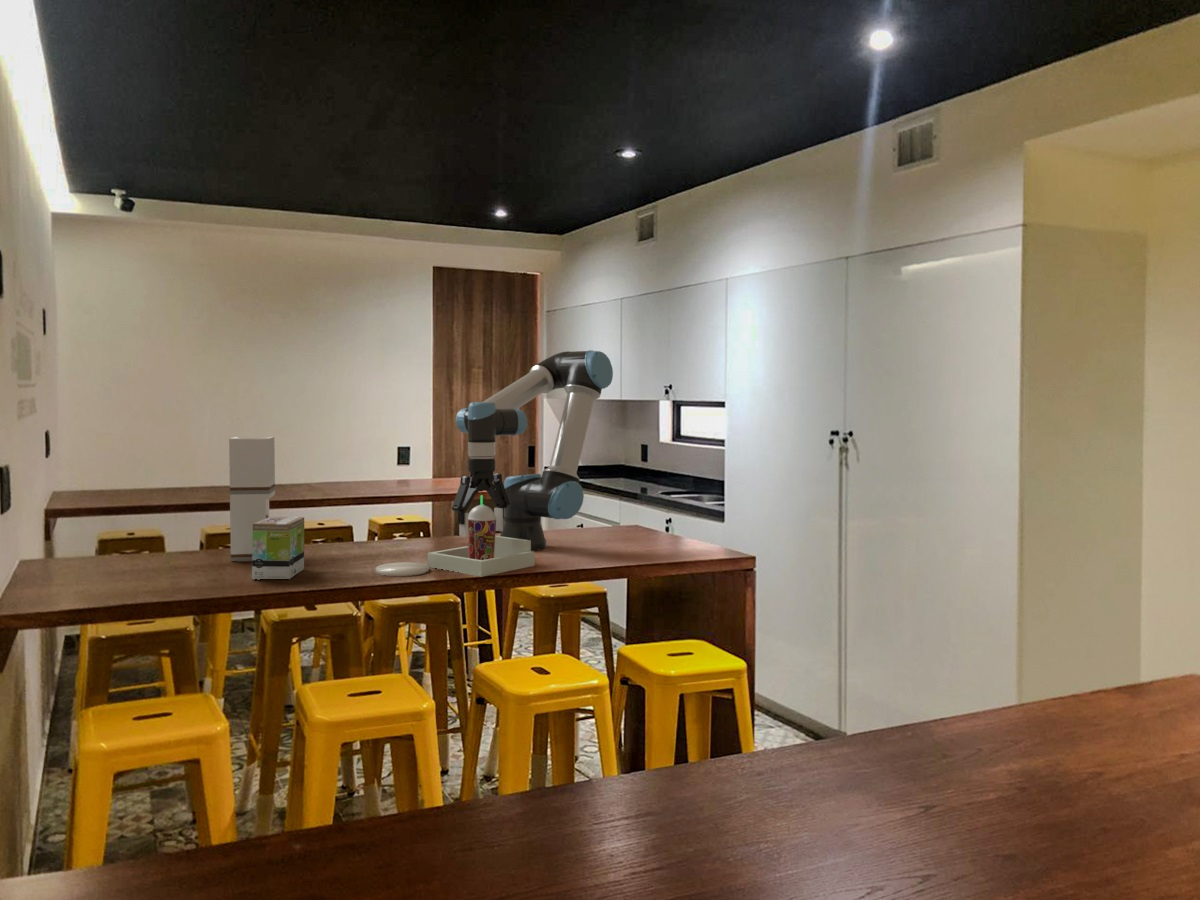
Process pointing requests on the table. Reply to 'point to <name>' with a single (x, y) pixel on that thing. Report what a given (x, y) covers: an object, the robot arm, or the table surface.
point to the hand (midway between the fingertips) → (481, 533)
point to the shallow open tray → (505, 559)
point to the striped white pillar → (249, 490)
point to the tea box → (278, 547)
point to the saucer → (402, 569)
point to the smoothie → (481, 532)
